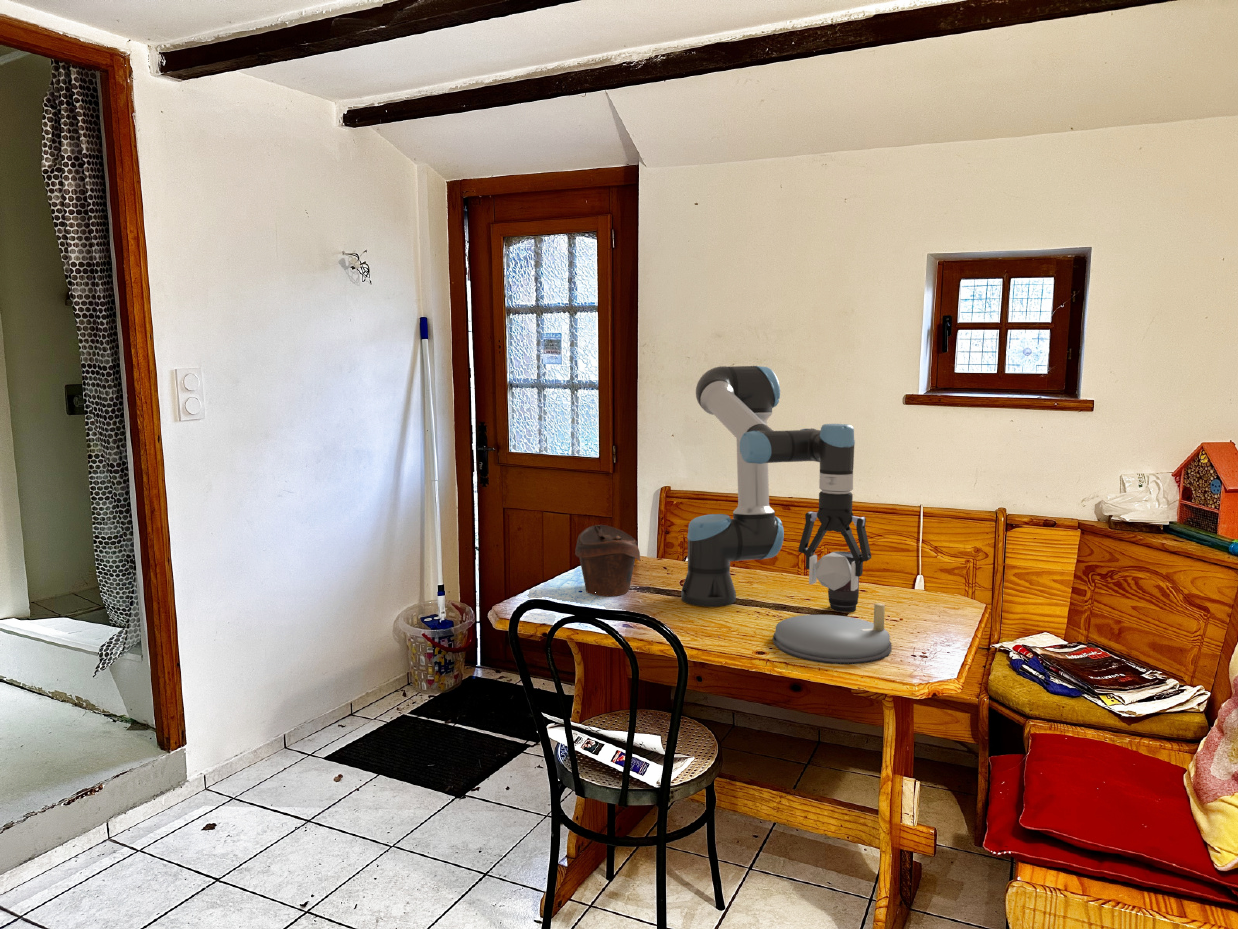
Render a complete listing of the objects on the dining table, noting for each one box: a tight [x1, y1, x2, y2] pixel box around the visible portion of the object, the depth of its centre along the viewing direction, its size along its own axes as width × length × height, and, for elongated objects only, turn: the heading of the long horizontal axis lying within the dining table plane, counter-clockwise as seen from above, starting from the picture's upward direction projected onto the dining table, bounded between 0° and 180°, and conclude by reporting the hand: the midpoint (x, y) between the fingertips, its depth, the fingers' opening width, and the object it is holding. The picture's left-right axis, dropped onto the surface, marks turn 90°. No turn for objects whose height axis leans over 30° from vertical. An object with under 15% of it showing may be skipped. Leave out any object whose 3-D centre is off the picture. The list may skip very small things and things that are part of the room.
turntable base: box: [772, 632, 893, 665], centre depth 201 cm, size 27×27×1 cm
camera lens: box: [827, 550, 860, 613], centre depth 228 cm, size 8×8×15 cm
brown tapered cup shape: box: [574, 524, 641, 597], centre depth 245 cm, size 18×20×18 cm
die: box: [815, 551, 851, 590], centre depth 198 cm, size 8×9×10 cm
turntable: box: [774, 602, 891, 659], centre depth 200 cm, size 26×26×8 cm
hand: (833, 586), depth 199 cm, fingers closed on die, 9 cm apart
